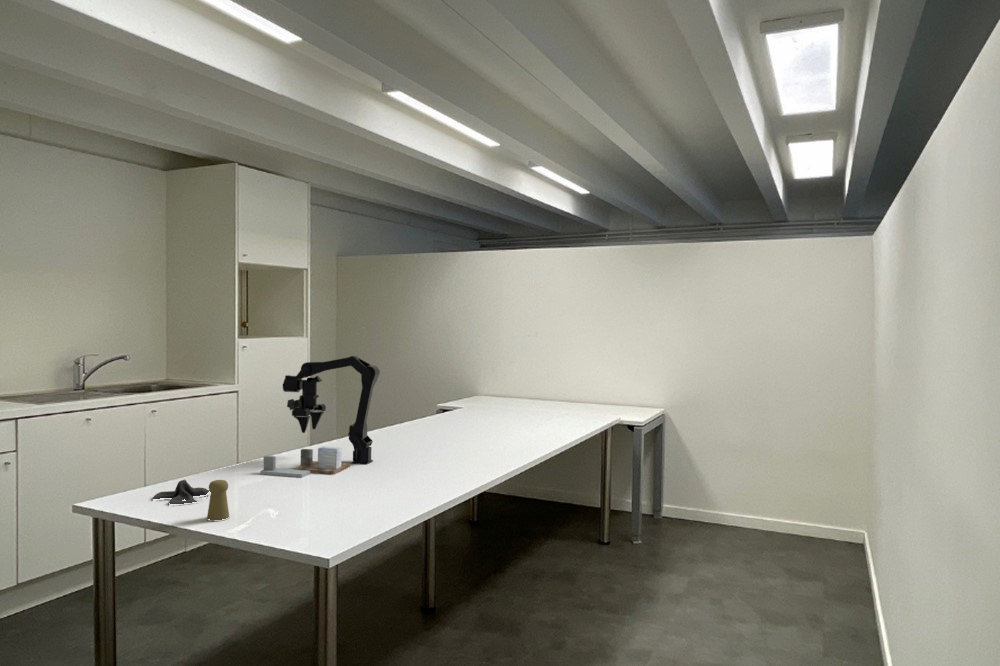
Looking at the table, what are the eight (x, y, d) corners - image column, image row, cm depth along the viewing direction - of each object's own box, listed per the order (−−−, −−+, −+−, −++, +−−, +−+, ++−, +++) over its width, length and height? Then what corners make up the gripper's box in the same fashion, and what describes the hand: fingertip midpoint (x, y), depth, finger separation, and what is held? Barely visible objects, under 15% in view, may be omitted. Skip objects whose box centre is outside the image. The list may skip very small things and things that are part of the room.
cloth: (180, 510, 206) (180, 490, 206) (137, 503, 213) (137, 483, 213) (235, 493, 227) (235, 475, 226) (194, 487, 234) (194, 469, 234)
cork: (211, 515, 200) (211, 478, 200) (232, 515, 200) (232, 478, 200) (203, 521, 194) (204, 483, 194) (225, 521, 194) (226, 483, 194)
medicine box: (341, 469, 262) (342, 447, 262) (336, 471, 257) (337, 448, 257) (322, 468, 263) (323, 446, 263) (317, 470, 259) (317, 447, 259)
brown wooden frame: (350, 466, 267) (350, 448, 267) (333, 474, 253) (334, 455, 253) (310, 463, 270) (310, 445, 270) (292, 471, 257) (292, 452, 257)
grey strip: (310, 473, 254) (310, 457, 253) (301, 477, 248) (302, 460, 248) (269, 470, 257) (269, 454, 257) (260, 474, 251) (260, 457, 251)
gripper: (301, 389, 287) (301, 426, 287) (279, 394, 269) (279, 433, 269) (326, 390, 285) (325, 427, 285) (306, 395, 267) (305, 435, 267)
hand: (308, 430), depth 277 cm, fingers open, 9 cm apart
